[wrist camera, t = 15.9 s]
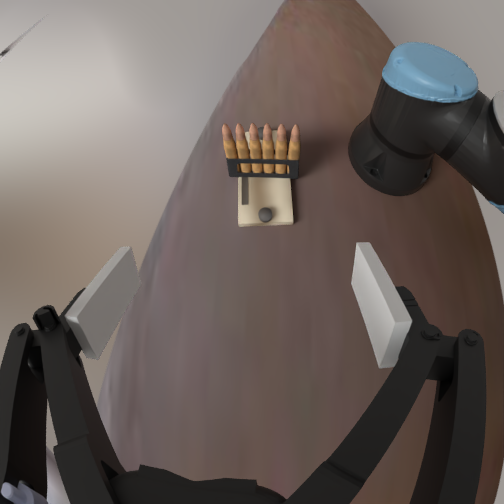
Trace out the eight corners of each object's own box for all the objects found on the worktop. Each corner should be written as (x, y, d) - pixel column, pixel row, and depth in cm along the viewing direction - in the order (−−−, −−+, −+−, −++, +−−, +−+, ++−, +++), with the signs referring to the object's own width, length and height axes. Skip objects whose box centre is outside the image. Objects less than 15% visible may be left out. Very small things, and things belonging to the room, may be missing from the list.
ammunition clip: (229, 176, 46) (216, 129, 34) (230, 166, 46) (218, 118, 35) (298, 178, 45) (304, 130, 33) (298, 168, 45) (303, 119, 34)
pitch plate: (285, 134, 49) (285, 126, 47) (292, 224, 44) (293, 218, 42) (239, 136, 49) (237, 128, 47) (239, 226, 45) (237, 221, 43)
